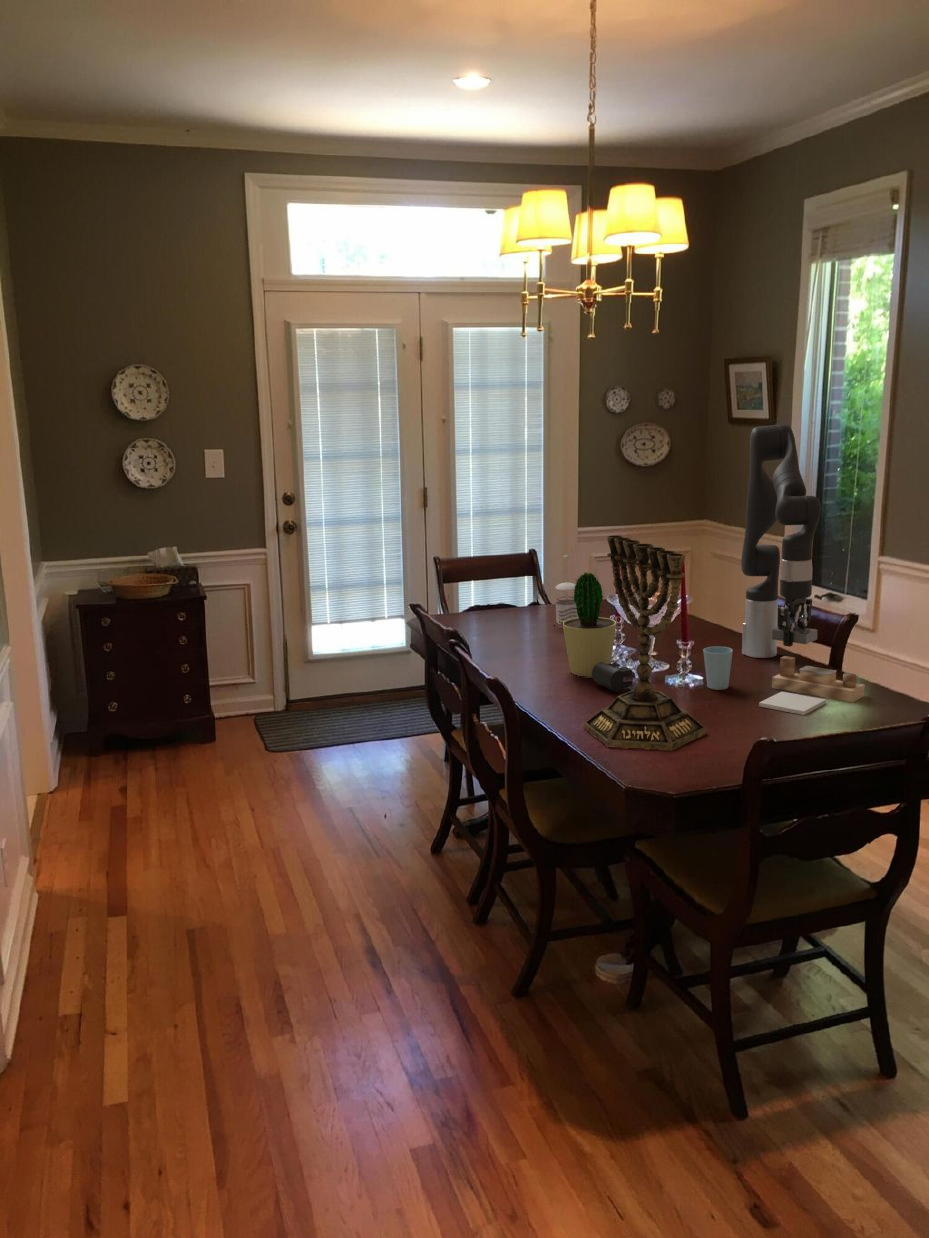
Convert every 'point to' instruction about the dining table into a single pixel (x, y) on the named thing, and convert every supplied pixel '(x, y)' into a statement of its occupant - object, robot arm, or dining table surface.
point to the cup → (717, 666)
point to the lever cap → (797, 635)
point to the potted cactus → (588, 628)
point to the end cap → (612, 677)
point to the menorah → (645, 654)
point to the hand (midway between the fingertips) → (794, 642)
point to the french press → (565, 601)
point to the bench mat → (792, 703)
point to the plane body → (817, 682)
